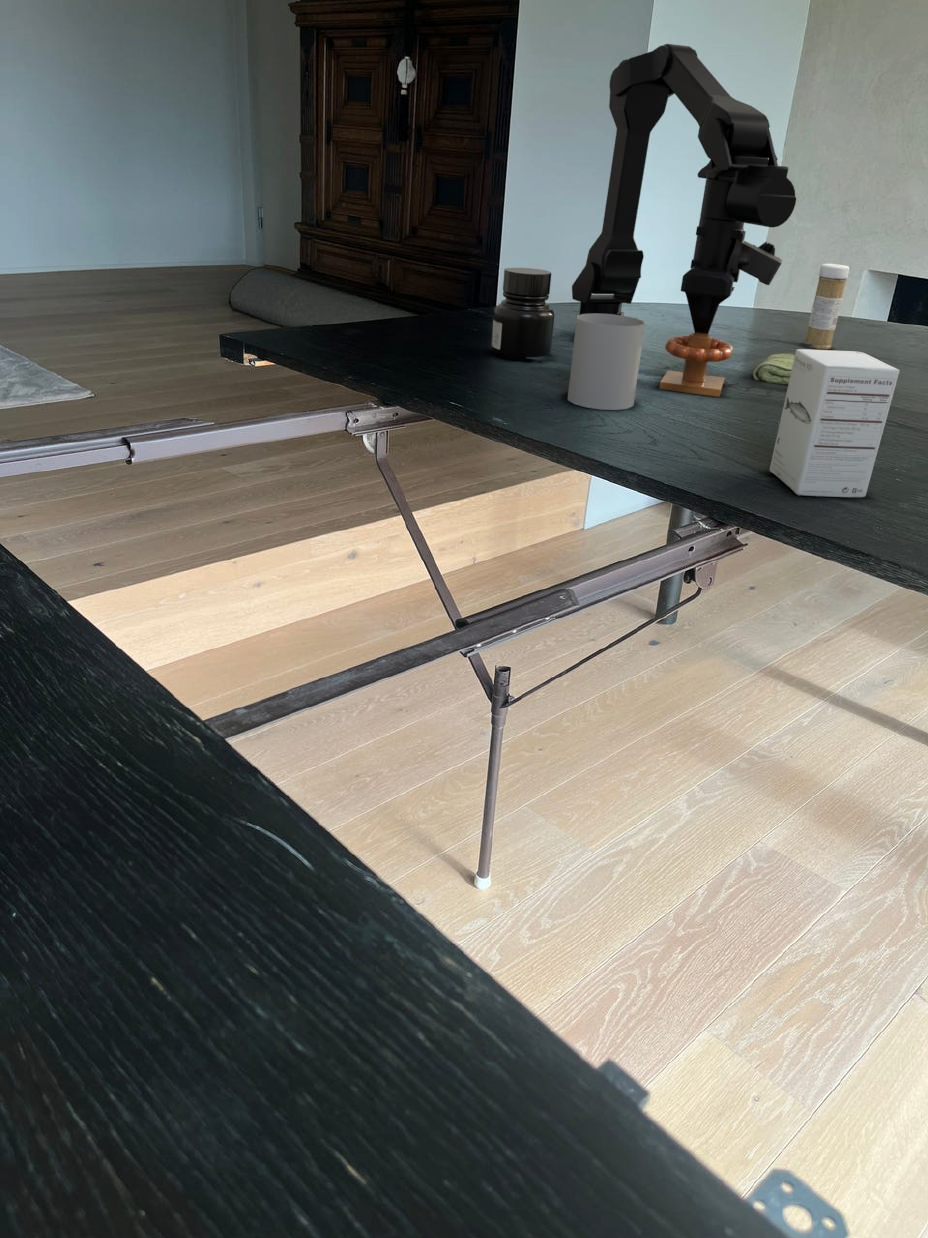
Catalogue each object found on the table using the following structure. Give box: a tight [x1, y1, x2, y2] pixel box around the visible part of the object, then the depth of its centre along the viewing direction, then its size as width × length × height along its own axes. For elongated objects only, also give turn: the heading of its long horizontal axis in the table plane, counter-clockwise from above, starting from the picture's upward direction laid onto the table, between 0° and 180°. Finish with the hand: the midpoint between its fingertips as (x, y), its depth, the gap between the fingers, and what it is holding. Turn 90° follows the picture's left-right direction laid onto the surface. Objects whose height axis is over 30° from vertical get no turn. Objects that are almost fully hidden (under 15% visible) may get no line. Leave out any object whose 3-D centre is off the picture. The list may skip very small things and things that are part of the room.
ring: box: [665, 335, 734, 363], centre depth 129 cm, size 9×9×2 cm
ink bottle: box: [490, 267, 555, 362], centre depth 140 cm, size 10×9×12 cm
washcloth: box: [752, 352, 795, 386], centre depth 136 cm, size 13×18×3 cm
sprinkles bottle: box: [803, 263, 850, 350], centre depth 161 cm, size 5×5×14 cm
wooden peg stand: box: [658, 332, 726, 398], centre depth 130 cm, size 8×8×7 cm
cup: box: [567, 313, 646, 411], centre depth 119 cm, size 8×8×10 cm
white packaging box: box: [769, 348, 900, 498], centre depth 93 cm, size 7×7×13 cm
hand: (701, 340), depth 132 cm, fingers closed on ring, 1 cm apart
